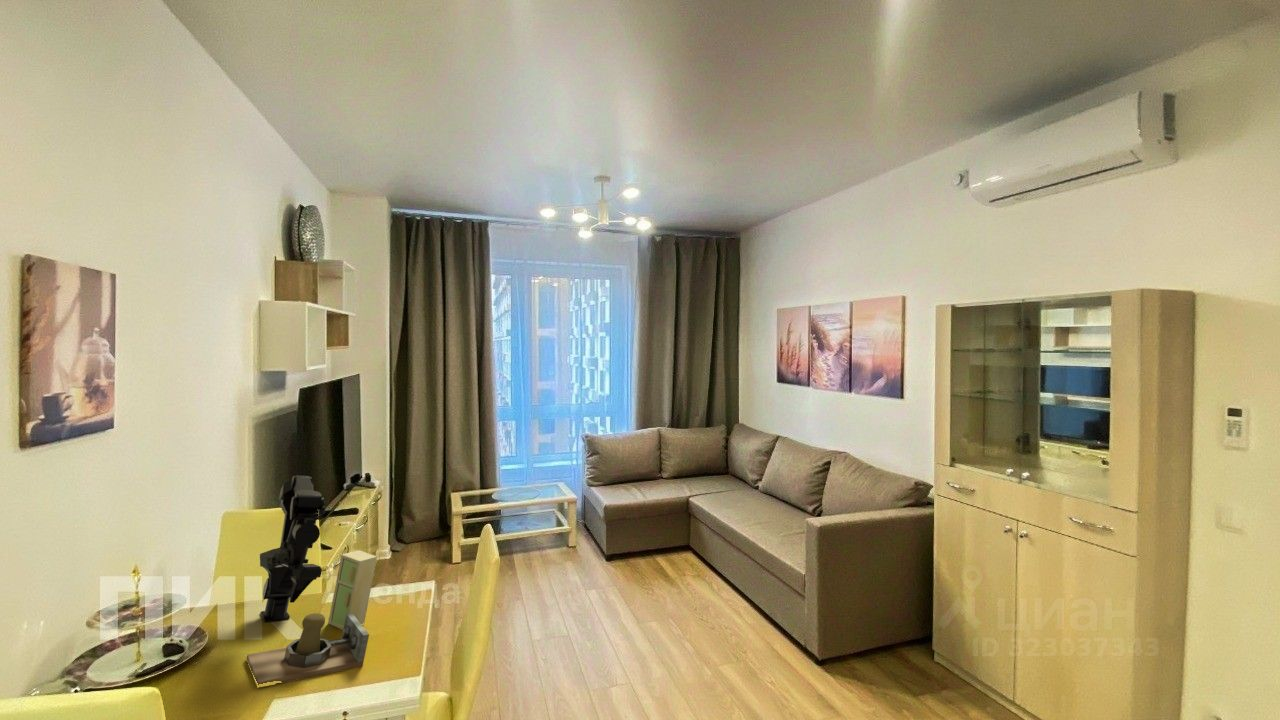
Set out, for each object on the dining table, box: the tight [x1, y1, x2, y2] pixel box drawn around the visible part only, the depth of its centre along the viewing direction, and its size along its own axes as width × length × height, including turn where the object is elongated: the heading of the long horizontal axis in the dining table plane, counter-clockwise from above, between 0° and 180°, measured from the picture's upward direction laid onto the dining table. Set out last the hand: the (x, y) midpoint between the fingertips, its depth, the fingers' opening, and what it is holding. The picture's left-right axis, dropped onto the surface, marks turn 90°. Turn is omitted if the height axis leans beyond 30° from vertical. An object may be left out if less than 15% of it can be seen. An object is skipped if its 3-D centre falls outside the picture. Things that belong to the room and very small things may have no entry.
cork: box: [295, 612, 326, 655], centre depth 146 cm, size 6×6×11 cm
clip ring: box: [284, 626, 358, 668], centre depth 148 cm, size 10×16×5 cm, turn 134°
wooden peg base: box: [245, 613, 370, 685], centre depth 146 cm, size 14×24×8 cm, turn 134°
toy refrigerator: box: [327, 549, 378, 631], centre depth 170 cm, size 8×7×21 cm
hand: (281, 598), depth 152 cm, fingers open, 9 cm apart
